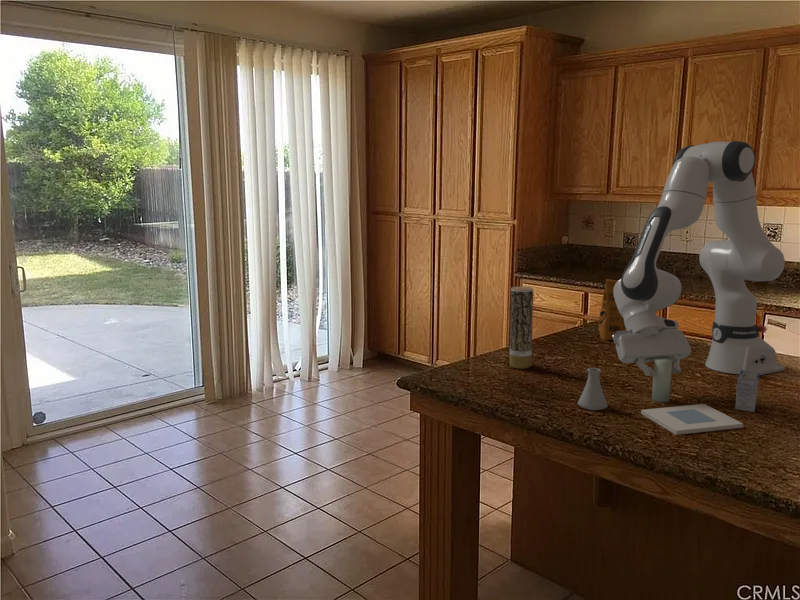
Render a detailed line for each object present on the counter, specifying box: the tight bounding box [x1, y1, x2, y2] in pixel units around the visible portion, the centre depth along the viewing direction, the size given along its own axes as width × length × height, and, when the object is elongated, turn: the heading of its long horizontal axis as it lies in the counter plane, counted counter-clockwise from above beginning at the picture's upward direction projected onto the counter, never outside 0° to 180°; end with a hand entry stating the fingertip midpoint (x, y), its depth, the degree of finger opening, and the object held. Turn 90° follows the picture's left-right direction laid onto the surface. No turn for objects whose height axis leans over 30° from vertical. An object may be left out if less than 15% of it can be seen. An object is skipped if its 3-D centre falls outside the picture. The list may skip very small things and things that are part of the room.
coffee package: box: [598, 278, 627, 342], centre depth 236 cm, size 10×12×22 cm
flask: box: [577, 367, 609, 411], centre depth 168 cm, size 7×7×10 cm
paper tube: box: [509, 286, 534, 370], centre depth 203 cm, size 7×7×25 cm
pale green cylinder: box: [651, 358, 673, 403], centre depth 173 cm, size 4×4×11 cm
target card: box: [640, 403, 744, 436], centre depth 159 cm, size 18×14×1 cm
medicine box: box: [734, 370, 760, 413], centre depth 167 cm, size 8×4×9 cm, turn 148°
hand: (663, 373), depth 172 cm, fingers open, 7 cm apart
